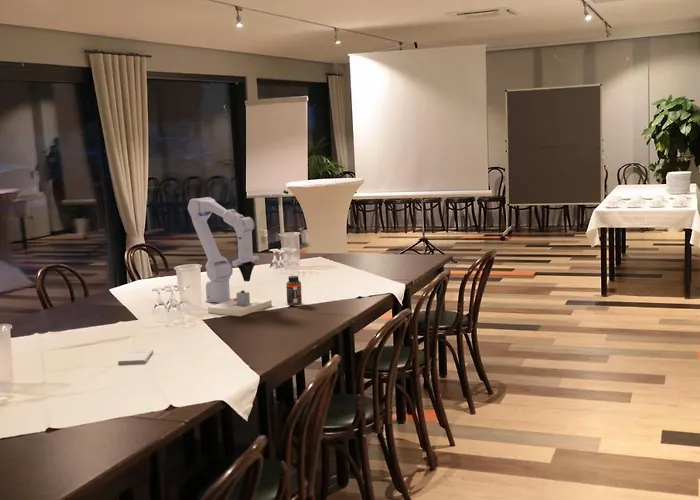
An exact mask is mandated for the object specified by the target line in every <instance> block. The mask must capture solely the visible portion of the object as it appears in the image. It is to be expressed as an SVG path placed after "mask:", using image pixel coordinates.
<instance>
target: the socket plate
mask: <svg viewBox="0 0 700 500" xmlns="http://www.w3.org/2000/svg"><path fill="white" fill-rule="evenodd" d="M268 307H272V299H265V298H264V299H263V298H253V297H250V305H249V306H246V307H241V306H237V297H235V298H234V299H232V300H229V301H226V302H222V303H216V304H213V305H210V306H207V313H208V314H217V315H218V314H219V315H226V316H232V317H233V316H234V317H242V316H246V315H249V314H252V313H254V312H257V311H260V310H263V309H266V308H268Z"/></svg>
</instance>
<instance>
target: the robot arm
mask: <svg viewBox="0 0 700 500" xmlns="http://www.w3.org/2000/svg"><path fill="white" fill-rule="evenodd" d="M187 211H188V214H189V216H190V218H191V221H192V225H193V227H194V229H195V233H196V234H197V237H198V239H199V241H200V244H201V246H202V248H203V250H204V253H205V255H206V258H207V262H206V264H205V265H204V266H205V270H206V275H207V278H208V280H207V282H206V284H205V294H206V296H205V297H206V299H205V302H209V303H216V304H219V303H222V302H226V301H229V300H232V299H235V298H234V297H231V291H230V279H231V277H232V275H233V267H238V269H239V272H240V274H241V276H242V279H243V281H244V282H250V281H251V277H252V273H253V270H254V267H255V262H259V261H260V256H259V255H254V254H253V253H254V251H253V233H252V232H253V230H255V227H256V226H255V220H254V219H253V218H252V217H250V216H244V215H243V214H240V213H239V212H237V211H236V210H235V209H234V208H230V209H226V208H225V207H223V206H222V205H220V204H219V203H218V202H217V201H216V200H215V199H214V198H212V197H210V196H206V197H200V198H191V199H190V200H189V202H188V205H187ZM213 213H214V214H216V215H217V216H219V217H221V218H222V220H223V222H224V223H226V224H228V225H229V226H231V227H233V230H234V231H235V235H236V238H237V253H238V258H237V259H235V260H233V261H232V264H231V263H230V262H229V261H228V259H227V258H226V257H224V256H223V255H221V252H220V250H219V249H218V246H217V243H216V241H215V239H214V236H213V234H212V231H211V229H210V226H209V224H208V219H209V218H210V217H211V215H212V214H213Z"/></svg>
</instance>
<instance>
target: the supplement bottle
mask: <svg viewBox="0 0 700 500" xmlns="http://www.w3.org/2000/svg"><path fill="white" fill-rule="evenodd" d="M285 287H286V303H287V305H289V306H298V305H301V304H302V303H303V301H302V300H303V298H302V283H301V281H300V279H299V275H289V276H288V281H286V286H285Z"/></svg>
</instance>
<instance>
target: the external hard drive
mask: <svg viewBox="0 0 700 500" xmlns="http://www.w3.org/2000/svg"><path fill="white" fill-rule="evenodd" d="M151 354H152V355H153V354H154V349H151V348H149V349H129V350H127V351H126V352H125V353H124V354H123V355H122V357H120V359H119V360H118V361H117V364H118V365H120V366H121V365H139V364H138V363H143V364H146V363H147V362H148V360H149V359H150V358H151V356H152V355H151ZM150 355H151V356H150ZM148 358H149V359H148ZM146 361H147V362H146ZM145 362H146V363H145Z"/></svg>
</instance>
